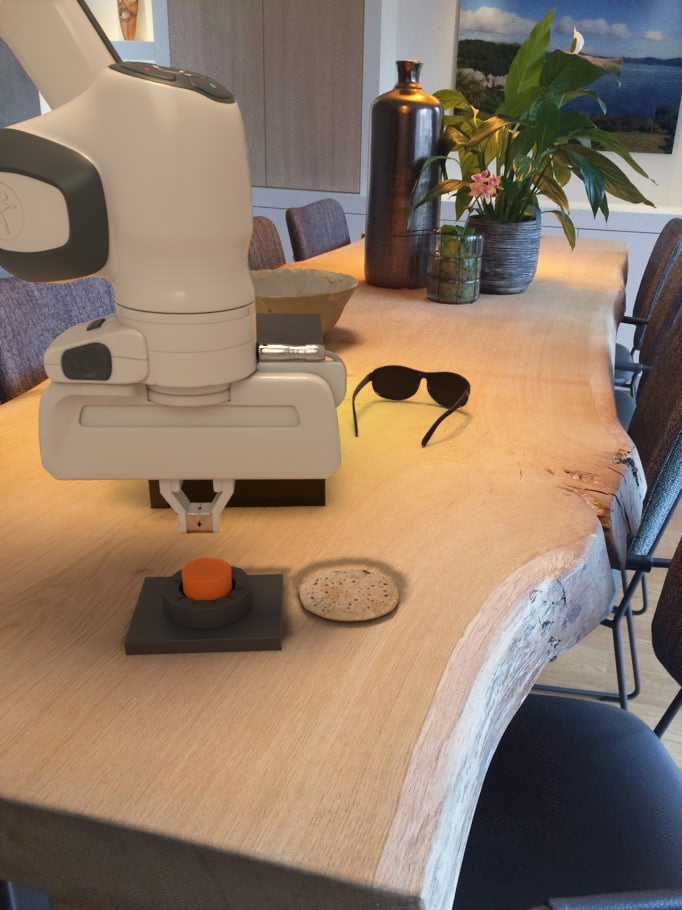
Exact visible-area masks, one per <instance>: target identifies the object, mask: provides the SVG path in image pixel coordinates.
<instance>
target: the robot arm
mask: <svg viewBox="0 0 682 910" xmlns="http://www.w3.org/2000/svg"><path fill="white" fill-rule="evenodd" d="M0 38H1V39H2V40H3V41H4V42H5V43H6V45H7V46H8V48H9V49H10V50H11V52H12V54H13V55H14V56H15V58H16V59H17V61H18V62H19V64H20V65H21V68H22V69H23V70H24V72H25V73H26V74H27V76H28V77H29V79H30V80H31V82H32V83H33V85H34V86H35V88H36V89H37V91H38V92H39V94H40V95H41V96H42V98H43V99H44V102H46V104H47V106H48V107H49V108H50V110H49V111H47V112H45V113H43V114H41V115H37V116H35V117H32V118H28V119H25V120H23V121H21V122H17V123H14V124H11V125H8V126H5V127H2V128H0V268H2V269H3V270H4V271H5V272H7V273H8V274H10V275H12V277H15V278H17V279H19V280H21V281H24V282H27V283H28V282H29V283H37V284H38V283H40V284H49V285H50V284H52V285H58V284H67V283H71V282H76V281H79V280H83V279H88V278H92V277H93V278H94V277H95V278H101V279H104V280H106V281H107V282H109V283H110V285H111V287H112V290H113V296H114V297H113V298H114V307H115V313H114V312H113V313H110V314H106V315H104V316H99V317H97V318H94V319H91V320H86V321H84V322H80V323H77V324H75V325H72V326H70V327H68V328H67V329H65V330H64V331H62V332H61V333H60V334H59V335H58V336H57V337H56V338H54V340H53V341H52V342H51V343H50V344H49V345H48V347H47V348H46V349H45V352H44V354H43V358H42V359H43V361H42V363H43V368H44V372H45V374H46V376H47V378H48V379H49V380H51V381H50V383H49V384H47V386H46V388H45V389H44V390H43V392H42V394H41V396H40V399H39V405H38V443H39V444H38V445H39V455H40V460H41V465H42V468H43V469H44V470H45V471H46V472H47V473H48V474H49V475H50V476H51V477H52V478H54V479H55V480H57V481H148V480H159V485H160V493H161V494H162V496H163V497H164V498H165V500H166V501H167V502H168V503H169V505H168V506H169V507H170V506H171V507H172V509H171V510H173V511H174V513H175V514H177V518H178V528H179V530H178V531H179V534H221V533H222V528H223V510H224V509H225V508H224V507H225V506H226V504H227V502H228V501H229V499H230V497H231V496H232V494H233V492H234V486H235V479H325V480H327V479H331V478H332V477H333V476H334V475H335V474H336V473H337V472H338V471H339V469H340V468H341V466H342V448H341V446H342V445H341V434H340V424H339V423H340V422H339V417H338V410H337V408H338V407H340V405H342V403H343V401H344V400H345V398H346V395H347V385H348V372H347V366H346V364H345V362H344V361H343V359H342V358H341V357H340V356H339V355H338V354H337V353H336V352H334V351H331V350H328V349H326V347H325V345H324V346H323V345H318V344H305V346H300V345H299V346H297V345H294V346H293V345H287V344H286V345H285V344H268V343H262V344H260V343H258V342H256V341H257V333H256V299H255V298H256V297H255V289H254V285H253V282H252V279H251V276H250V272H249V271H250V266H249V251H250V245H251V241H252V236H253V234H254V233H253V232H254V205H253V188H252V187H253V185H252V176H251V164H250V154H249V147H248V140H247V134H246V133H247V132H246V128H245V123H244V120H243V116H242V115H243V114H242V112H241V109H240V107H239V104H238V102H237V100H236V97H235V96H234V94H233V93H232V92H231V91H230V90H229V89H228V88H227V87H226V86H225V85H223V83H220V81H217V80H216V79H214V78H212V77H209V76H207V75H204V74H201V73H198V72H194V71H190V70H187V69H186V70H185V69H182V68H178V67H173V66H169V67H168V66H162V65H158V64H157V63H151V62H144V61H130V60H129V61H123V59H122V58H121V56H120V55H119V53H118V51H117V50H116V48H115V47H114V45H113V43H112V41H111V40H110V38H109V37H108V35H107V34H106V32H105V31H104V29H103V27H102V26H101V24H100V23H99V21H98V19H97V18H96V16H95V15H94V13H93V12H92V10H91V8H90V6H89V5H88V4H87V2H86V0H0ZM326 357H327V358H329V359H326ZM258 358H259V364H257V360H258ZM298 359H299V360H298ZM324 359H325V360H324ZM211 479H213V488H214V491H215V492H218V493H217V494H216V496H215V498H214V500H213V501H212V502H208V503H190V501H189V500H188V498H187V497H186V495H185V494H184V492H183V491H182V490H181V486H182V483H183V480H211Z"/></svg>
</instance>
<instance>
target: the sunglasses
mask: <svg viewBox="0 0 682 910" xmlns="http://www.w3.org/2000/svg"><path fill="white" fill-rule="evenodd" d="M423 379H424V380H426V391H427V393H428V395H429V396H430V398H431V399H432V400H433V401H434V402H435V403H436V404H438V406H441V407H444V408H448V409H447V410H446V411H445V412H443V413H442V414H441V415H440V416H439V417H438V418H437V419H436V420H435V421H434V423H433V424H432V425H431V426H430V428H429V429H428V430H427V432H426V434H424V436H423V438H422V439H421V442H420V443H421V446H422V447H426V446H427V445H428V443H429V441H430V440H431V438H432V437H433V435H434V433H435V431H436V430H437V429H438V427H439V426H440V424H441V423H443V421H444V420H446V419H447V418H448V417H449V416H450V415H451V414H453V413H454V412H455V411H457V410H458V409H460V408H463V407H465V406H466V405H467V403H468V402H469V397H470V394H471V387H472V385H471V384H470V381H469V380H468V379H467V378H466V377H465V376H463V375H461V374H459V373H457V372H453V371H422V370H418V369H415V368H411V367H409V366H404V365H397V364H388V365H383V366H379V367H376V368H375V369H373V371H371V372H369V373H368V374H366V376H365V377H364V378H363V379H362V380H361V381H360V382H359V383H358V384H357V386H356V387H355V388H354V391H353V393H352V396H351V397H352V399H351V407H352V416H353V417H352V418H353V425H354V433H355V434H354V435H355V437H358V436H359V425H358V417H357V411H356V397H357V396H358V394H359V393H360V392H361V390H362V389H363V388H364V387H365V386H367V385H368V384H369V383H370V382H371V387H372V390H373V392H374V393H375V395H377V396H378V397H380V398H382V399H385V400H390V401H396V402H397V401H399V402H400V401H405V400H408V399H411V398H412V397H414V396H415V395H416V394H417V393H418V391H419V389H420V386H421V383H422V380H423Z"/></svg>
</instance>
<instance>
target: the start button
mask: <svg viewBox="0 0 682 910" xmlns="http://www.w3.org/2000/svg"><path fill="white" fill-rule="evenodd" d="M231 566H232V565H231V564H230V563H229V561H226V560H225V559H222V558H217V557H201V558H196V559H193V560H191V561H189V562H188V563H186V564H184V566H183V567H182V581H183V591H184V594H185V595H186V597H188V598H191V599H194V600H214V599H218V598H221V597H224V596H227V595H228V594H229V593H230V592H231V590H232V575H231Z"/></svg>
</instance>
